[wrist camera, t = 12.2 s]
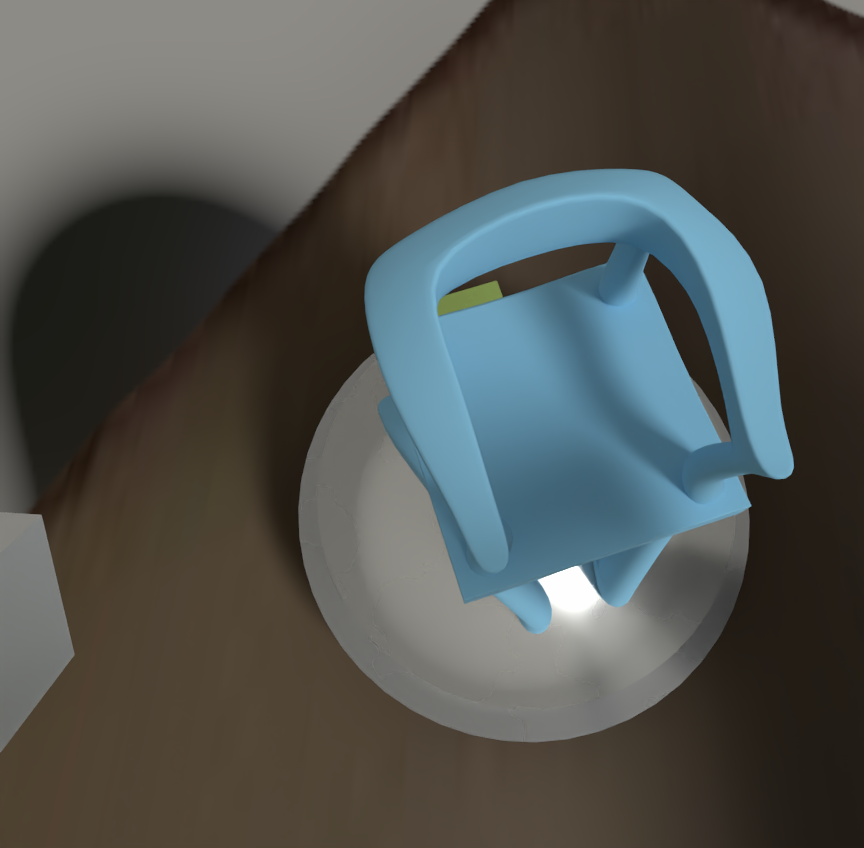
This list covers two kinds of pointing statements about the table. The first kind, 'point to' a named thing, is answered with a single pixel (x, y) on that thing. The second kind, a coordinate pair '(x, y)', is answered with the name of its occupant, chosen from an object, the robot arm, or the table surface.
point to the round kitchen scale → (488, 617)
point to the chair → (573, 384)
